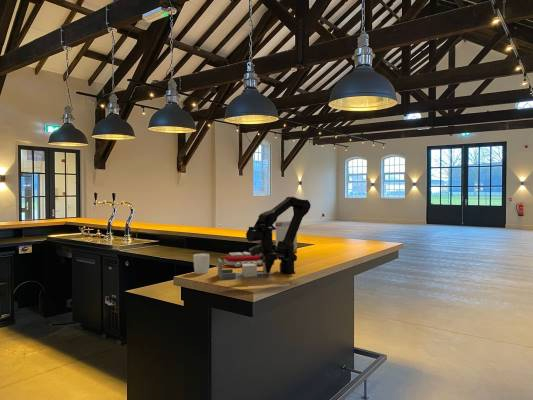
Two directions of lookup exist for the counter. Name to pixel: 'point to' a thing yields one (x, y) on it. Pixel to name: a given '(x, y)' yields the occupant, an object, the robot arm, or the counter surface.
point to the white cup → (201, 263)
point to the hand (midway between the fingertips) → (266, 272)
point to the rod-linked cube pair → (252, 270)
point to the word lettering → (242, 259)
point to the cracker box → (283, 233)
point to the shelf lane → (236, 274)
